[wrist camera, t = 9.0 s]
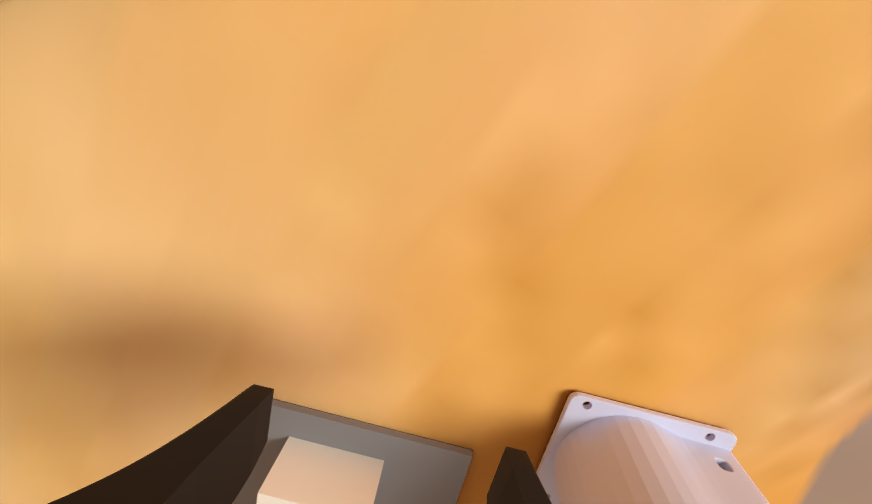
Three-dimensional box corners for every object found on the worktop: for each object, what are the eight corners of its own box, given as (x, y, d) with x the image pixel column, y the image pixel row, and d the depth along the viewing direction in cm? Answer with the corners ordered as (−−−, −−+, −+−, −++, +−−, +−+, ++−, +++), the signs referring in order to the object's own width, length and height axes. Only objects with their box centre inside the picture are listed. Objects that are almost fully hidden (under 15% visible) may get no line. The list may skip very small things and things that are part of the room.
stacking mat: (472, 450, 26) (472, 456, 25) (434, 560, 29) (433, 567, 28) (249, 392, 26) (244, 398, 25) (236, 509, 29) (232, 516, 28)
